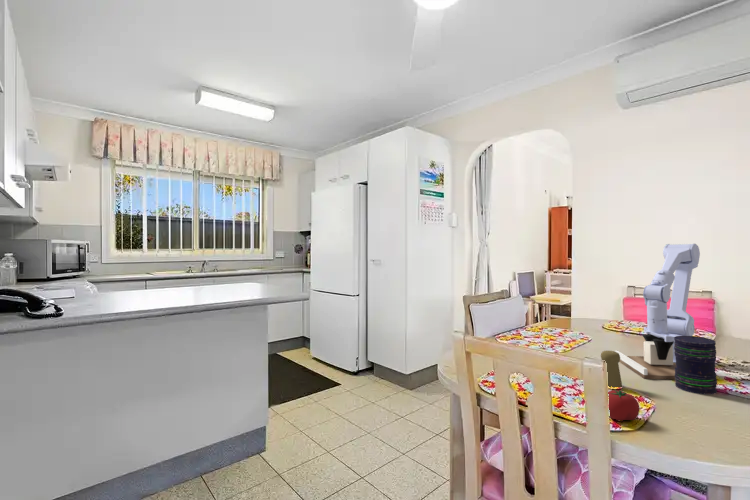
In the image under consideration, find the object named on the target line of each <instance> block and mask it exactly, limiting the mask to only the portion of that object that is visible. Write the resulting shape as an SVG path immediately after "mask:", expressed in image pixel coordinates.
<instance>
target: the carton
mask: <svg viewBox="0 0 750 500" xmlns="http://www.w3.org/2000/svg"><path fill="white" fill-rule="evenodd" d="M643 356H644V361H646V362H647V363H649V364H651V365H673V345H672V346H671V347H670V349H669V352H668V355H667V358H666V360H659V359H658V356H657V349H656V346H655V344H654V342H653V341H645V340H644V341H643Z"/></svg>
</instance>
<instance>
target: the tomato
mask: <svg viewBox="0 0 750 500" xmlns="http://www.w3.org/2000/svg"><path fill="white" fill-rule="evenodd" d="M608 394H609V410H610V417H609V418H610V419H612V420H614V419H616V420H615V421H617V420H622V421H621V422H624V421H623V420H632V421H634V420H636V419H637V417H638V416H639V414H640V410H641V409H640V404H639V402H638V401H637V399H636V397H635V396H633V394H629V393H627V392H623V391H622V390H609V391H608Z"/></svg>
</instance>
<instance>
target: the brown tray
mask: <svg viewBox="0 0 750 500" xmlns="http://www.w3.org/2000/svg"><path fill="white" fill-rule="evenodd" d="M614 351H615V352H617V353H619V355H620V361H619V363H620V364H622V365H623V366H625V367H626V368H628V369H629V370H630V371H632V372H634V373H635V374H637V375H638V376H639V377H641V378H643V379H644V380H645V379H646V380H670V381H671V380H675V367H676V363H673V365H651V364H649V363H647V362H646V361H644V355H639V356H638V355H625V354H624V353H622V352H621V351H619V350H614Z"/></svg>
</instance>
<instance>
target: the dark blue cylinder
mask: <svg viewBox="0 0 750 500" xmlns="http://www.w3.org/2000/svg"><path fill="white" fill-rule="evenodd" d="M674 340H675V342H674V350H675V352H674V353H675V356H676V363H675V364H676V367H675V382H674V383H675V387H676V388H677V389H679V390H682V391H683V392H686V393H687V392H688V393H692V394H697V395H704V396H706V395H707V396H708V395H709V396H711V395H715V394H717V391H718V389H717V384H718V380H717V372H716V361H717V347H716V345H717V344H716V342H717V341H716V340H714V339H711V338H707V337H703V336H702V337H701V336H697V335H696V336H694V335H693V336H676V337H674Z"/></svg>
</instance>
